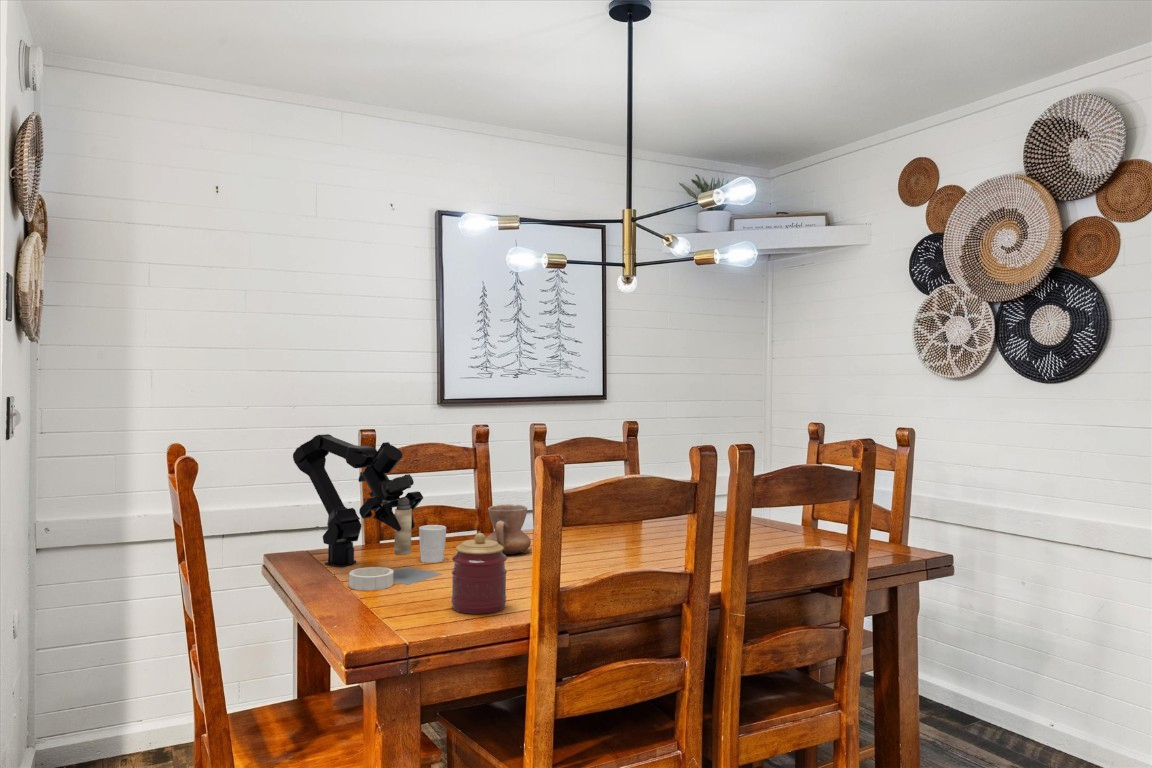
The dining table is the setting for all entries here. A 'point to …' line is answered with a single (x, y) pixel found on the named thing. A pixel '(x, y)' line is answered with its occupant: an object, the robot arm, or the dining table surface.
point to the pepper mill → (403, 527)
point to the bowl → (371, 578)
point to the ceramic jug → (509, 527)
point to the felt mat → (412, 575)
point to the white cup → (432, 543)
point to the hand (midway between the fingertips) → (406, 529)
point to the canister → (479, 576)
